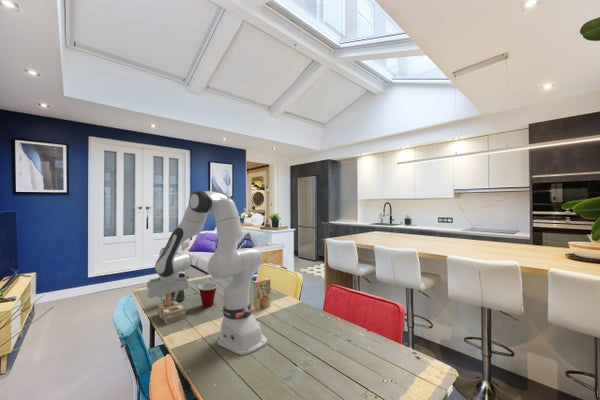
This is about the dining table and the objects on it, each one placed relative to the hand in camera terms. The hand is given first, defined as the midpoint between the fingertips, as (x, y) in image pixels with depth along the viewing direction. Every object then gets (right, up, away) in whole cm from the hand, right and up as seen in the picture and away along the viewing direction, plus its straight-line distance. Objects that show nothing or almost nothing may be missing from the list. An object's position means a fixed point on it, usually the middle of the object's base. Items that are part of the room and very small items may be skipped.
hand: (168, 301), depth 140 cm
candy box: (+50, -7, +7) cm, 51 cm away
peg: (0, -7, 0) cm, 7 cm away
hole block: (+3, -7, -3) cm, 8 cm away
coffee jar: (-5, -8, +18) cm, 20 cm away
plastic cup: (+18, -7, +10) cm, 22 cm away
